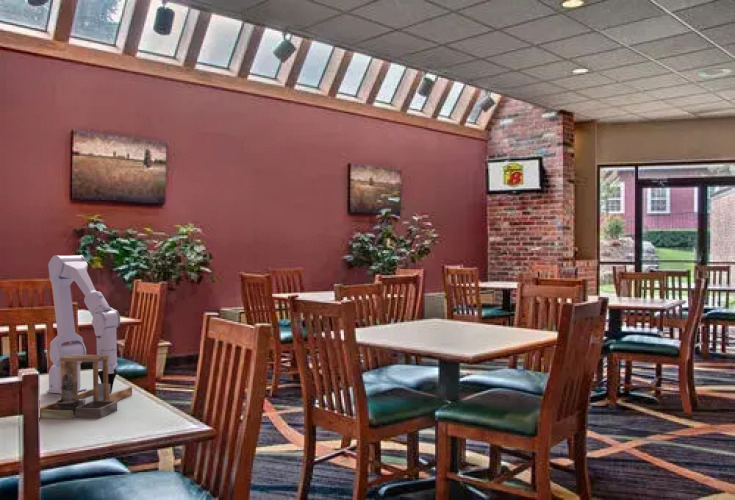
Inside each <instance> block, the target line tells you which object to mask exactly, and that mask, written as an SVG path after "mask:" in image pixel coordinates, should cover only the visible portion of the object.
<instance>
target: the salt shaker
mask: <svg viewBox="0 0 735 500" xmlns="http://www.w3.org/2000/svg"><path fill="white" fill-rule="evenodd" d="M66 373H67V374H65V375H63V377H62V387H61V389H62V397H61V396H60V399H58V400H57V402H56V401H55V402H56V403H58V407H59V409H61V410H73V409H75V408H76V407H77V405H78V401H79V399H76V398H75V397H74V387H75V386H73V375H71V374H69V373H68V371H67V372H66ZM73 416H75V410H73Z"/></svg>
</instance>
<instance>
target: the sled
mask: <svg viewBox="0 0 735 500" xmlns="http://www.w3.org/2000/svg"><path fill="white" fill-rule="evenodd" d="M98 388H99V401H103V384H101V383H98ZM111 393H112V392H111ZM111 393H110V384H108V395H109V394H111ZM91 401H93V396H91V397H88V398H85V399H79V401H78V405H77V407H78V406H81V405H84V404H86V403H89V402H91ZM73 410H75V409H73Z"/></svg>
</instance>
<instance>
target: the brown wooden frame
mask: <svg viewBox="0 0 735 500" xmlns="http://www.w3.org/2000/svg"><path fill="white" fill-rule="evenodd" d="M108 359H109V355H97V354H86V355H69V356H65V357H62V358H60V361H61V387H62V377H63V375H65V374H67V373H66V372H67V371H68V373H69V374H71V375H73V386H75V387H74V397H75V398H76V399H85V398H88V397H91V396H93V401H91V402H89V403H86V404H84V405H81V406H78V407H76V408H75V415H73V410H61V409H59V407H58V403H56V402H57V401H58V400H57V401H54V402H51V403H48V404H45V405H43V406H41V407H40V406H39V408H40V418H39V419H42V418H44V419H65V420H66V419H69V420H71V419H74V417H75V418H79V419H80V418H81V419H82V418H85V419H100V418H104V417H105V416H107V415H111V414H113V413H115V412H117V411H118V402H119V401H122V400H123V399H126V398H128V397H130V396H133V387H132V386H127V387H124V388H122V389H120V390H117V391H114V392H111V394H109V395H108ZM102 360H103V369H102V370H103V401H99V388H98V384H99V375H98V371H99V368H98V362H99V361H102ZM77 362H82V363H91V362H92V382H93V383H92V385H93V386H92V387H93V388H90V389H87V390H83V391H80V392H79V393H78V392H77ZM61 397H62V389H61V394H60V398H61Z"/></svg>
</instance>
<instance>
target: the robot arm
mask: <svg viewBox="0 0 735 500" xmlns="http://www.w3.org/2000/svg"><path fill="white" fill-rule="evenodd" d="M47 265H48V266H47V267H48V275H49V281H50V283H51V287H52V288H51V289H52V297H53V305H54V314H55V323H56V324H55V325H56V331H57V335H56V336H55V337H54V338H53V339H52V340H51V341H50V343H49V344H50V347H49V360H50V361H51V363H52V365H51V366H50V368H49V370H48V389H47V390H46V393H53V394H60V395H61V361H60V358H62V357H65V356H69V355H87V348H86V345H85V343H84V338H83V337H82V336H81V335H80V334H78V333H76V328H75V327H76V326H75V325H76V324H75V317H74V310H73V302H72V299H73V298H72V290H71V284H72V283H73V282H75V283H76V285H77V286H78V288H79V289H80V290H81V292H82V293H83V295H84V300H83V303H84V304H85V306H86V307H87V309H88V311H89V313H90V314H91V316H92V320H91V325H92V327H93V329H94V331H93V332H94V334H95V337H96V355H109V359H108V384H110V393H113V392H112V391H113V388H114V382H115V378H116V376H117V375H118V370H117V368H116V367H118V365H119V364H118V355H117V352H118V351H117V347H118V346H117V328H118V327H120V324H121V316H120V313H119V311H118V310H116V309H114V308H113V307H110V305H109V303H108V301H107V300H106V298H105V296H104V295H103V293H102V292H101V291H97V289H96V288H95V286H94V284H93V281H92V279H91V277H90V275H89V273H88V266H89V265H88V262H87V261H86V258H85V257H84V256H83V255H80V254H77V255H58V254H57V255H53V256H52V257H51V259H50V260H49V262H48V264H47ZM82 363H83V362H77V393H78V392H79V393H80V392H84V391H87V390H88V389H87V388H86V387H81V386H82V385H81V364H82ZM98 369H102V370H98V379H100V384H103V360H102V361H99V362H98Z"/></svg>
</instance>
